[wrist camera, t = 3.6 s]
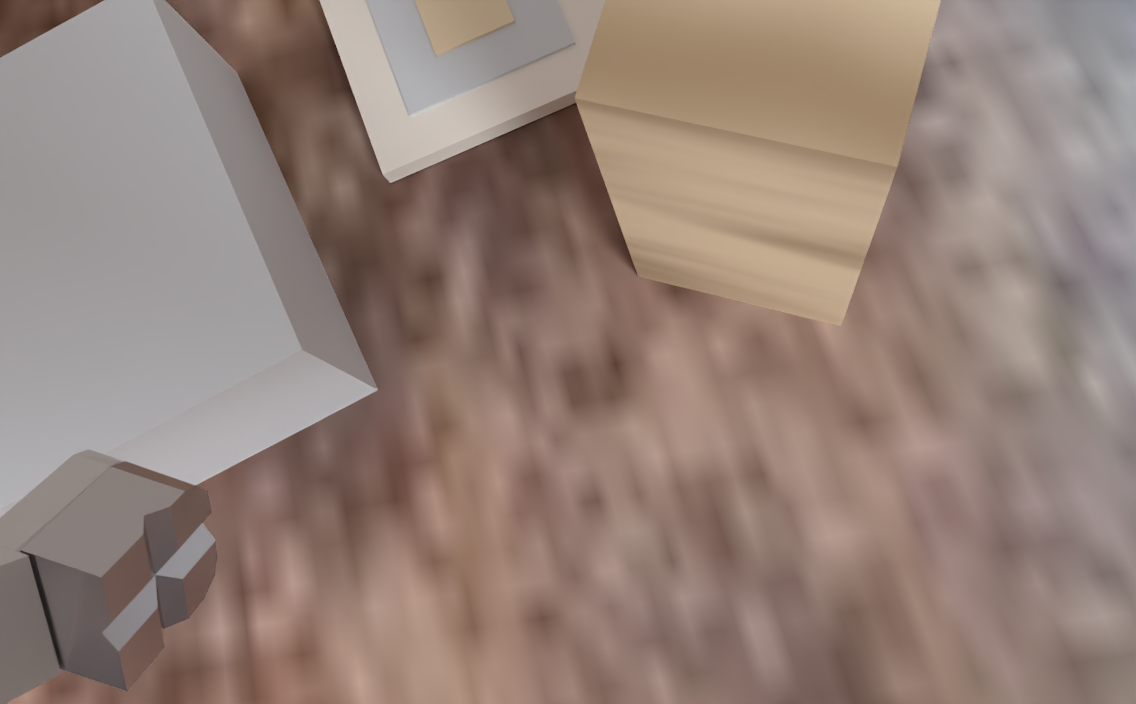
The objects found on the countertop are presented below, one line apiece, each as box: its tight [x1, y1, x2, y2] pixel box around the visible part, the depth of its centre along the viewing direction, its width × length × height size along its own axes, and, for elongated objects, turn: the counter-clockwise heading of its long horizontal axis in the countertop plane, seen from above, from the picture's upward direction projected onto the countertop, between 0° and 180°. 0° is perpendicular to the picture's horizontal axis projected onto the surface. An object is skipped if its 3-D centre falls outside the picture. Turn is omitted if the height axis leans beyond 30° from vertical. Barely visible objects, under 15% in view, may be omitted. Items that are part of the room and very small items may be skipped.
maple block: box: [575, 0, 941, 326], centre depth 21 cm, size 5×5×10 cm
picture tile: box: [320, 0, 605, 183], centre depth 28 cm, size 7×7×1 cm
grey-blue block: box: [0, 0, 378, 518], centre depth 26 cm, size 10×10×5 cm
